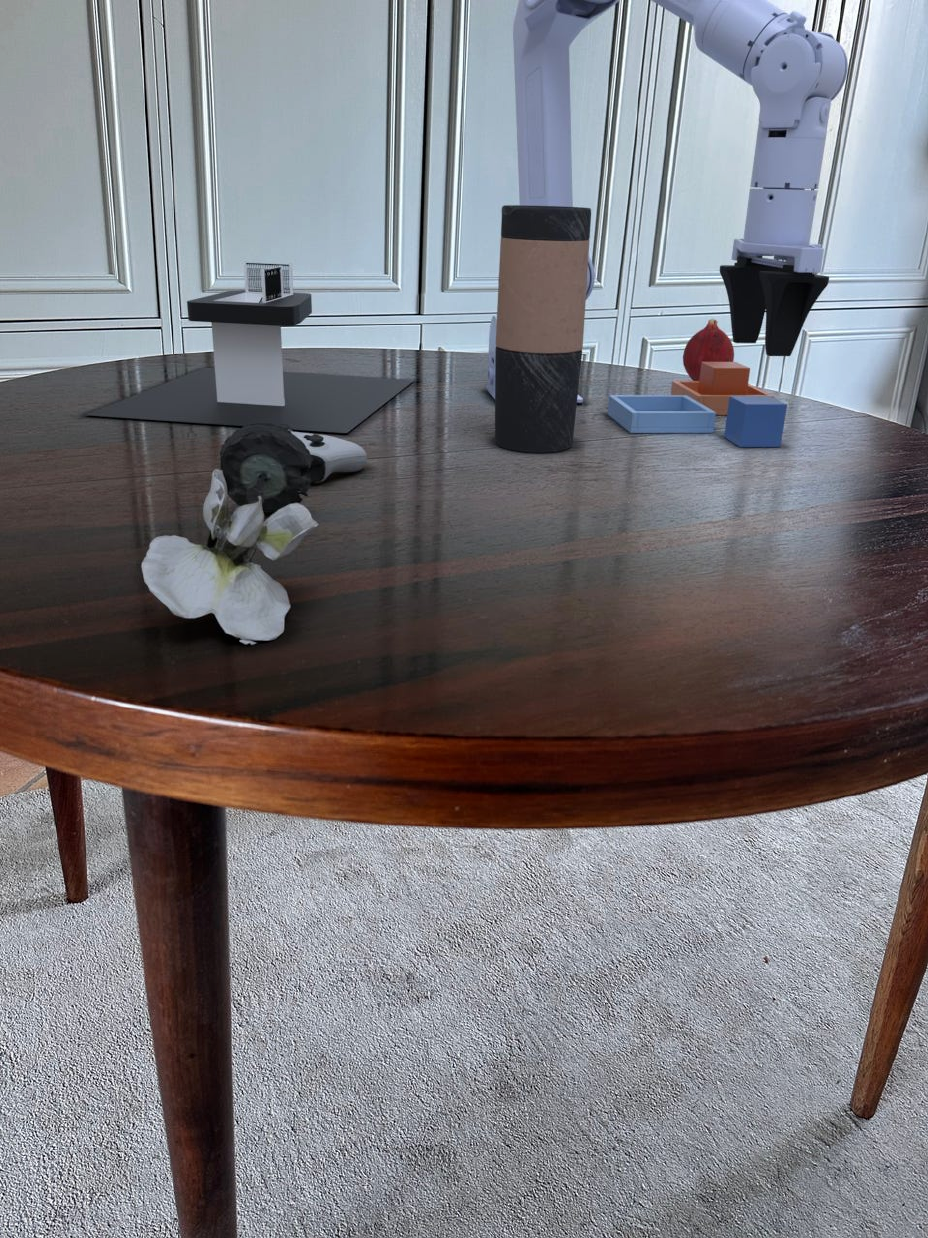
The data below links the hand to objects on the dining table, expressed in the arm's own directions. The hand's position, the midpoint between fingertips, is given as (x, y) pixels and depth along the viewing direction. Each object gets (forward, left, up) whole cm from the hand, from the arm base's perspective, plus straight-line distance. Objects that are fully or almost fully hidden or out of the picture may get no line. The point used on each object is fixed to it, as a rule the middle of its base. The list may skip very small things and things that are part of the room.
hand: (760, 348), depth 92 cm
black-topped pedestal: (-46, +19, -8) cm, 51 cm away
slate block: (0, -2, -8) cm, 9 cm away
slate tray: (-7, +6, -8) cm, 12 cm away
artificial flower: (-45, -32, -8) cm, 56 cm away
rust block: (+3, +14, -8) cm, 16 cm away
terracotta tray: (+3, +14, -8) cm, 17 cm away
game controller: (-42, -11, -8) cm, 45 cm away
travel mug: (-21, -2, -8) cm, 23 cm away
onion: (+5, +24, -8) cm, 26 cm away
